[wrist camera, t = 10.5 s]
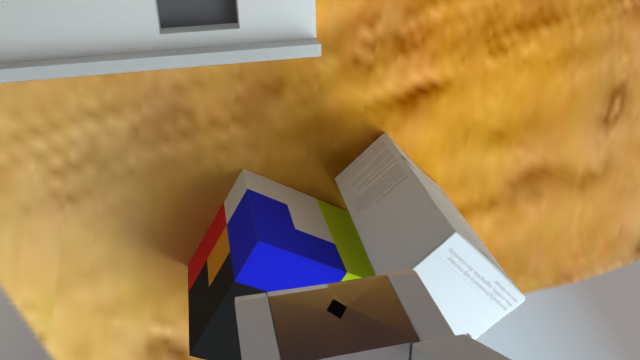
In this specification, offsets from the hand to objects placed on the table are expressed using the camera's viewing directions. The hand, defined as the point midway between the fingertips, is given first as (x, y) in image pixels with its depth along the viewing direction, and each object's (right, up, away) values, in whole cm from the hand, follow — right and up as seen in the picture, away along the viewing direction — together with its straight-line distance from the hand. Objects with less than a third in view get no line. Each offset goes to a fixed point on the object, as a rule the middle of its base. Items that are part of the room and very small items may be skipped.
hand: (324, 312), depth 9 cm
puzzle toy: (-4, -3, +37) cm, 37 cm away
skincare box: (+5, +2, +37) cm, 37 cm away
